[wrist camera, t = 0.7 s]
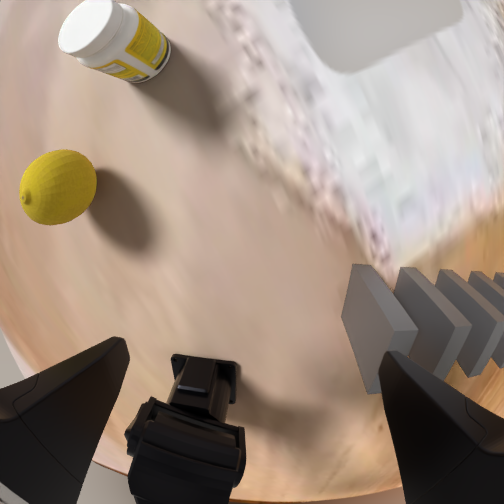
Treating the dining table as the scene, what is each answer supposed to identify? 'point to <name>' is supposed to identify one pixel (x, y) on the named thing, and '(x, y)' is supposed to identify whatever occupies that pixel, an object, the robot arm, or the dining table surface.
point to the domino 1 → (374, 323)
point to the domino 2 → (431, 322)
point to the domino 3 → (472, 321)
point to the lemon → (57, 187)
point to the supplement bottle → (114, 40)
